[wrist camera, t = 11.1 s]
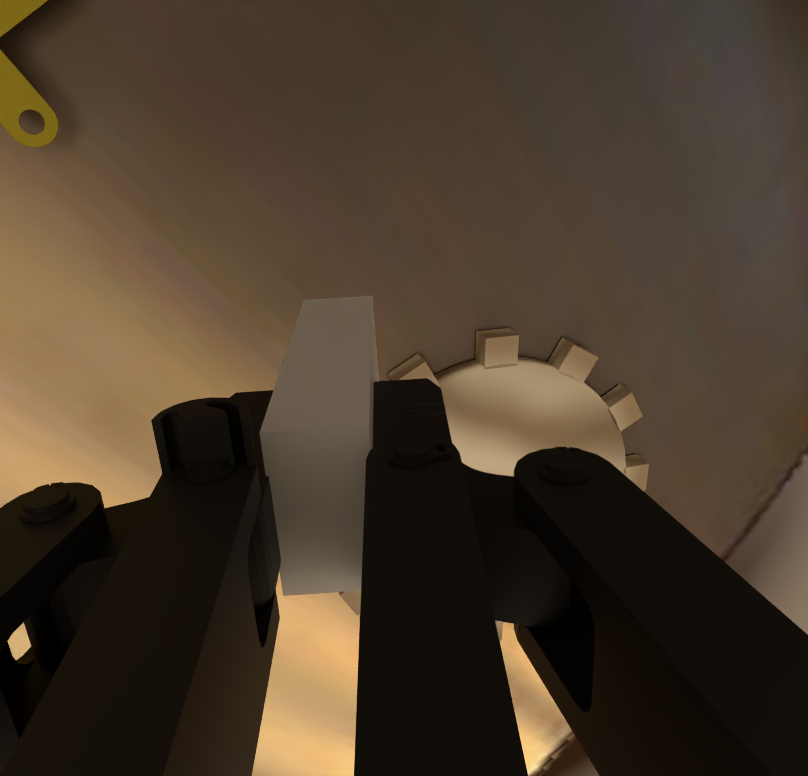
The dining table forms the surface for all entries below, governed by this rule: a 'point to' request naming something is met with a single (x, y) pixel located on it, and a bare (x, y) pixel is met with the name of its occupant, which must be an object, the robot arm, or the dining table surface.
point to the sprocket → (526, 410)
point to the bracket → (21, 83)
